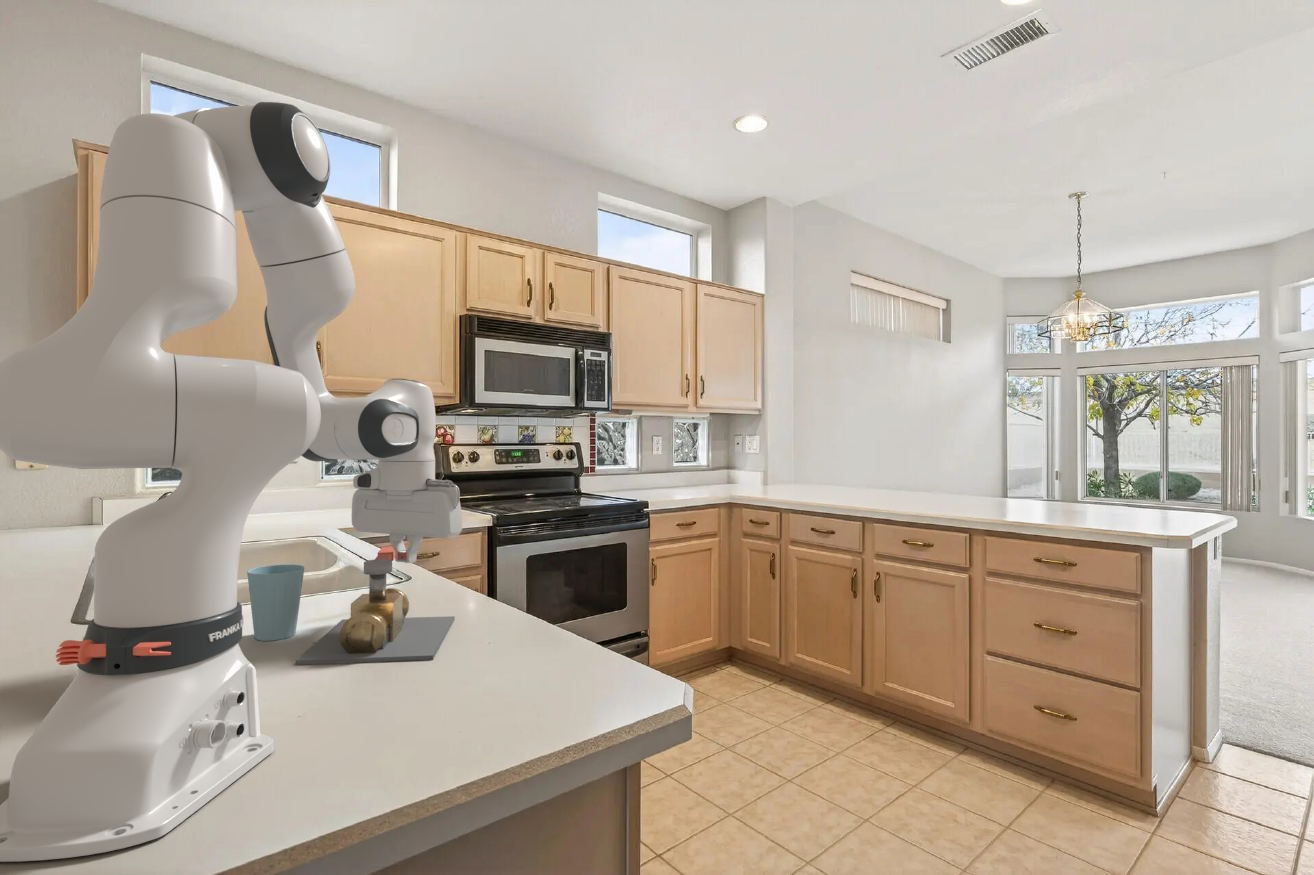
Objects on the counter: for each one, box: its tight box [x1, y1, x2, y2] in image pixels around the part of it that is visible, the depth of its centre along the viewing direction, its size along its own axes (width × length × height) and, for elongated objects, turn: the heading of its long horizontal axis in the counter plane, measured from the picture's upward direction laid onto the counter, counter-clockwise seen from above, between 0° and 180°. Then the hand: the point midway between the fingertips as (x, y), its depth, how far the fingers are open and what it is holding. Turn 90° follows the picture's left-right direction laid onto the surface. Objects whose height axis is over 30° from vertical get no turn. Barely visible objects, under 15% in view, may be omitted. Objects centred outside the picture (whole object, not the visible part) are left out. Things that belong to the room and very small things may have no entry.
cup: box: [246, 563, 305, 642], centre depth 101 cm, size 8×8×10 cm
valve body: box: [340, 574, 410, 654], centre depth 100 cm, size 16×6×10 cm, turn 9°
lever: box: [363, 546, 395, 576], centre depth 106 cm, size 16×4×2 cm, turn 16°
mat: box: [294, 616, 455, 666], centre depth 100 cm, size 20×18×1 cm
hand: (405, 561), depth 108 cm, fingers closed
